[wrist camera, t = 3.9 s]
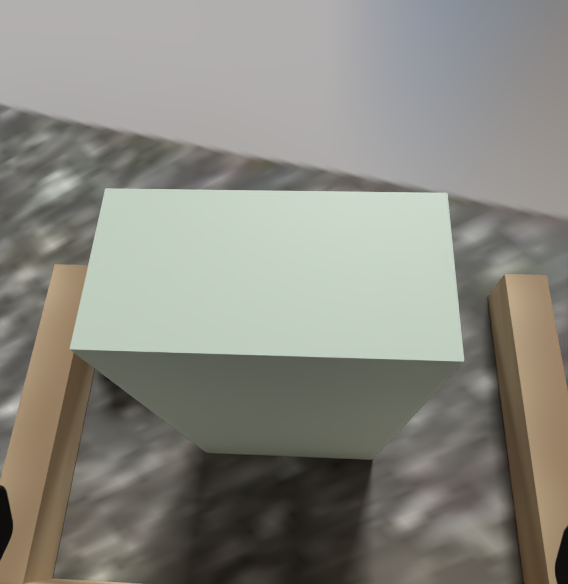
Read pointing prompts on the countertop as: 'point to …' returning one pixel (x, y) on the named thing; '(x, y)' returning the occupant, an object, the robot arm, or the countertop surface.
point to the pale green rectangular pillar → (274, 314)
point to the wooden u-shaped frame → (77, 382)
